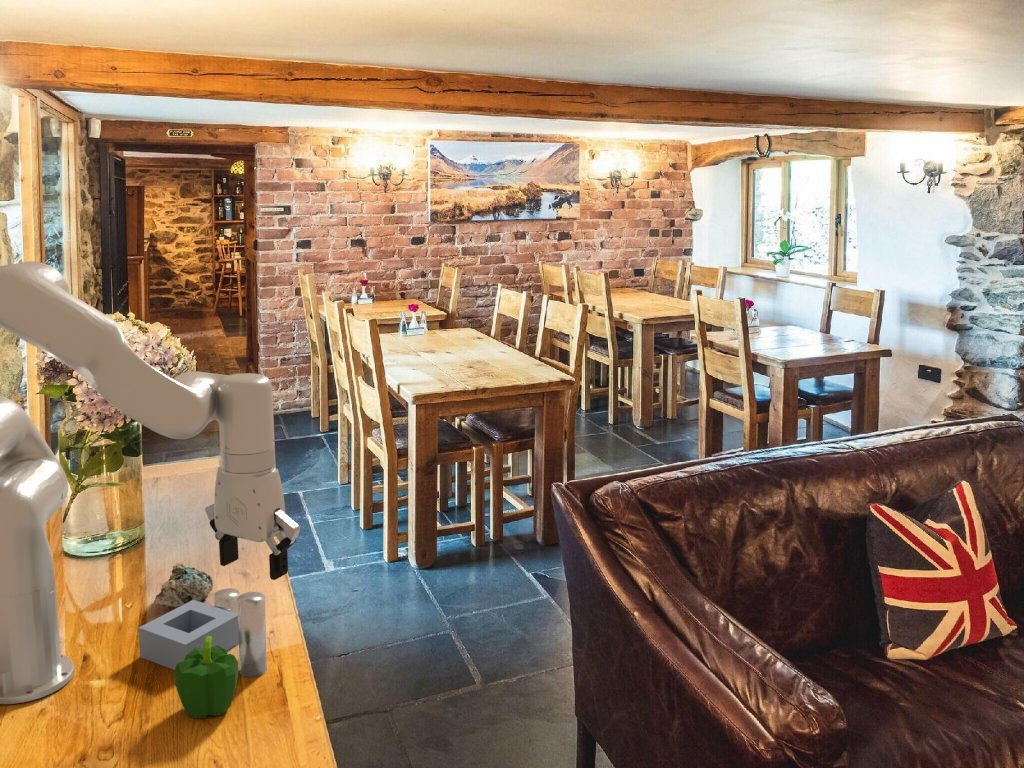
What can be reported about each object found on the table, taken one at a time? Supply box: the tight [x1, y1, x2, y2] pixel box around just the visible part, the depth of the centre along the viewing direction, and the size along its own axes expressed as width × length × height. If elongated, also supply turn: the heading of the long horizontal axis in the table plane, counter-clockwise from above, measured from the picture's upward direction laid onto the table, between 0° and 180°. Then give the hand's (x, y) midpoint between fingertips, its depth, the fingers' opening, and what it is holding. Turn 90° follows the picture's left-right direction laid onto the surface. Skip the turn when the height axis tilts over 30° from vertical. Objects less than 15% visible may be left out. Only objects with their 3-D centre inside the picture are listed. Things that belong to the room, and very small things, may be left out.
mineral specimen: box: [153, 561, 214, 609], centre depth 154 cm, size 12×9×8 cm
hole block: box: [138, 600, 239, 671], centre depth 139 cm, size 11×10×5 cm
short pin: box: [213, 587, 241, 614], centre depth 146 cm, size 4×4×6 cm
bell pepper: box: [173, 636, 239, 719], centre depth 123 cm, size 8×8×10 cm
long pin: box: [237, 591, 268, 678], centre depth 133 cm, size 4×4×12 cm
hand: (254, 569), depth 131 cm, fingers open, 9 cm apart
